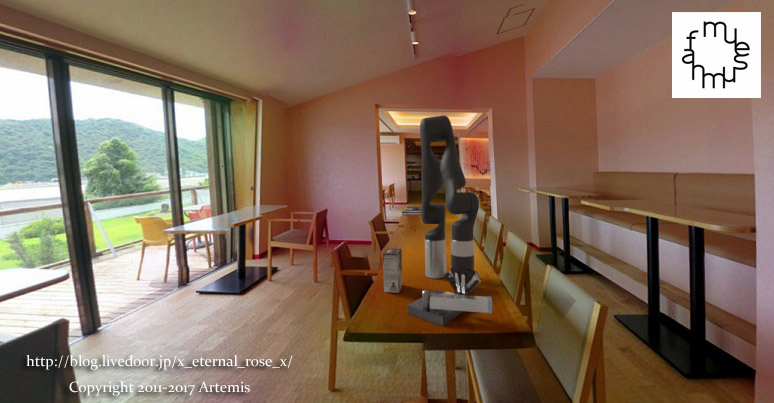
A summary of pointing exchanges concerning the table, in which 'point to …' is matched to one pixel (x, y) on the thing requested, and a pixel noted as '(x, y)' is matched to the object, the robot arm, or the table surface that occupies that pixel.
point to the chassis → (433, 315)
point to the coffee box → (392, 270)
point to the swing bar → (461, 303)
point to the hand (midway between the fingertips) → (462, 302)
